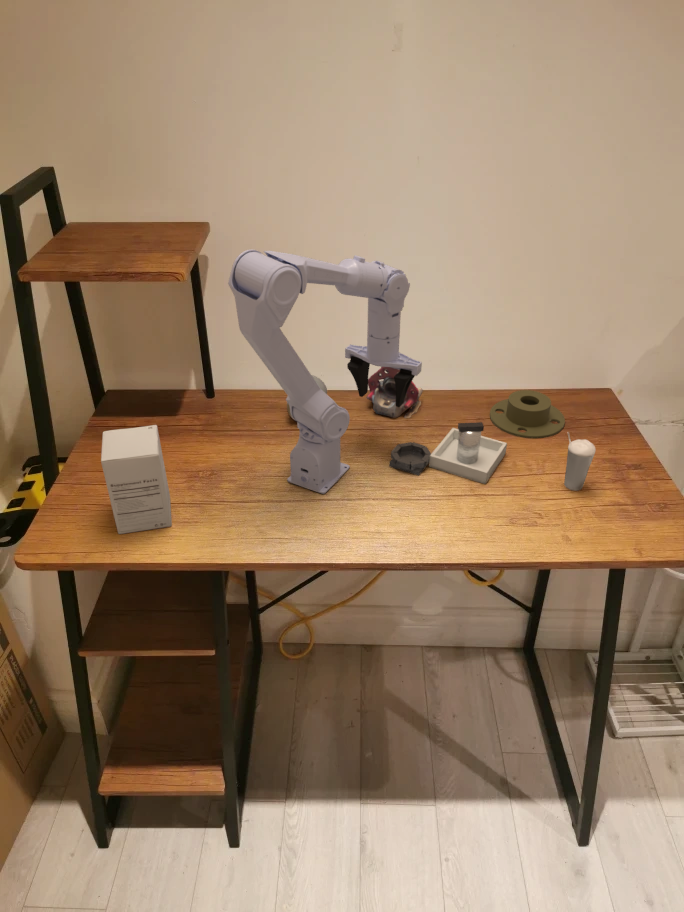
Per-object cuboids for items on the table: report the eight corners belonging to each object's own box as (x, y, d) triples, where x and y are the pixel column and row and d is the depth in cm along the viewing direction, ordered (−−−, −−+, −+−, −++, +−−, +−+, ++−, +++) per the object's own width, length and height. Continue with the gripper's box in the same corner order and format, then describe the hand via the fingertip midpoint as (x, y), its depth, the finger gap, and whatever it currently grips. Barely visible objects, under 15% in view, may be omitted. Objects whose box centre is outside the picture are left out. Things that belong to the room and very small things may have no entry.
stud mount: (420, 477, 131) (420, 468, 130) (385, 466, 134) (385, 457, 133) (435, 458, 136) (436, 449, 135) (401, 448, 139) (402, 438, 138)
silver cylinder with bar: (457, 464, 133) (461, 431, 129) (453, 452, 137) (456, 419, 133) (481, 463, 134) (485, 430, 129) (476, 451, 137) (480, 418, 133)
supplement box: (118, 502, 125) (101, 429, 117) (170, 495, 127) (158, 423, 119) (116, 535, 118) (99, 461, 110) (172, 527, 120) (159, 453, 111)
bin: (485, 484, 129) (486, 472, 128) (428, 466, 134) (429, 455, 132) (505, 453, 137) (507, 443, 136) (451, 438, 142) (452, 427, 140)
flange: (484, 411, 142) (562, 426, 137) (500, 377, 153) (572, 389, 149) (482, 431, 145) (558, 446, 140) (497, 396, 156) (568, 409, 151)
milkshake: (565, 473, 132) (575, 426, 126) (591, 485, 129) (602, 438, 123) (551, 483, 129) (561, 436, 124) (578, 496, 126) (589, 449, 121)
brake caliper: (354, 406, 147) (369, 350, 147) (370, 414, 157) (384, 361, 157) (405, 419, 143) (421, 361, 143) (419, 426, 153) (434, 372, 153)
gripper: (430, 332, 127) (425, 399, 135) (358, 316, 133) (357, 381, 140) (413, 348, 122) (409, 416, 129) (339, 330, 128) (339, 396, 135)
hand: (381, 399), depth 135 cm, fingers open, 7 cm apart
